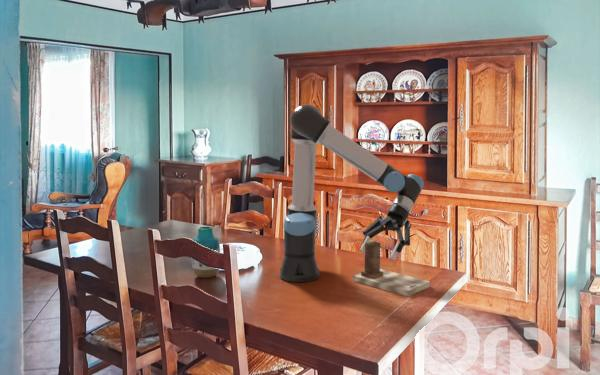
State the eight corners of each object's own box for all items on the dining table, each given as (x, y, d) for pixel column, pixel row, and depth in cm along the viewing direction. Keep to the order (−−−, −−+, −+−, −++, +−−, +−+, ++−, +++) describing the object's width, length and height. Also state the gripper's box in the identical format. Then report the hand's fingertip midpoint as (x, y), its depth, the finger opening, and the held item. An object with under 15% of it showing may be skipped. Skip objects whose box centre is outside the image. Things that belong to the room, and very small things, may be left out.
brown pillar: (361, 275, 201) (361, 241, 199) (370, 272, 205) (370, 238, 203) (374, 279, 197) (374, 244, 195) (383, 275, 201) (384, 241, 199)
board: (353, 280, 201) (353, 275, 201) (375, 272, 211) (375, 267, 211) (408, 296, 185) (408, 290, 185) (429, 286, 195) (430, 281, 195)
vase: (190, 274, 209) (189, 225, 207) (218, 271, 213) (217, 223, 210) (193, 282, 199) (192, 231, 197) (222, 279, 203) (221, 229, 200)
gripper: (432, 220, 203) (409, 267, 194) (377, 211, 220) (354, 254, 211) (425, 208, 198) (401, 256, 190) (370, 200, 215) (345, 243, 207)
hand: (376, 255), depth 201 cm, fingers open, 13 cm apart
